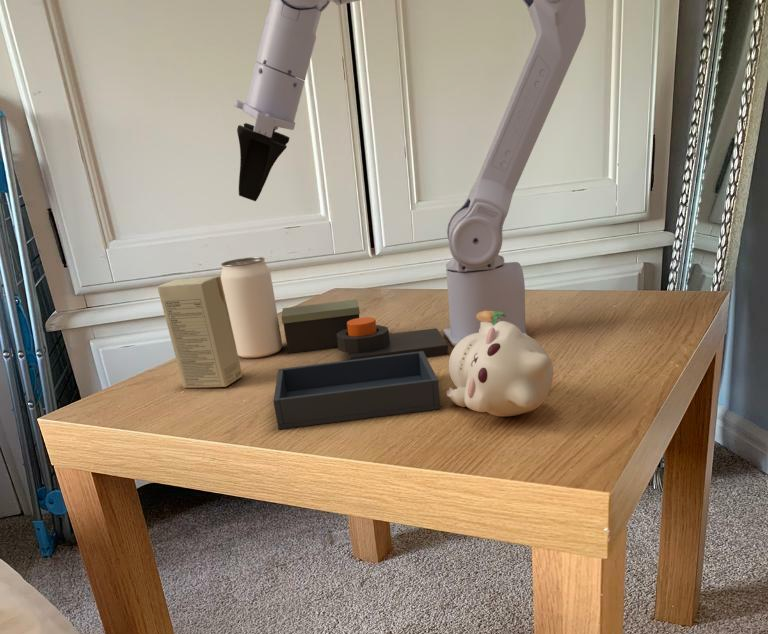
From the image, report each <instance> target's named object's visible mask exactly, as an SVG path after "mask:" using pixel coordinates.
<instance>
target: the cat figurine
mask: <svg viewBox="0 0 768 634" xmlns="http://www.w3.org/2000/svg"><path fill="white" fill-rule="evenodd" d="M499 315H501V316H504V317H506V315H505V314H504V313H503V312H496V311H495V312H494V311H481V312H479V313H478V314H477V315H476V318H477V319H478V320H479V321H481V323H480V329H479V333H474V334H471V335H468V336H466V337H465V338H463V339H462V340H461V341H459V342H458V344H457V345H456V346H453V349H452V351H451V353H450V356H449V360H448V373H449V376H450V379H451V381H452V383H453V384H454V385H455V387H456V388H452V387H449V388H448V389H447V390H446V392H445V393H446V396H447V397H448V398H449V399H450V401H451V402H453V404H454V405H456V406H458V407H462V408H466V407H467V408H468V409H469V410H472V411H474V412H477V413H488V414H489V415H491V416H496V417H512V416H513V417H514V416H519V415H523V414H526V413H529V412H532V411H534V410H536V409H538V408H539V407H540V406H541V405H542V404H544V402H545V401H546V400H547V398H548V395H549V394H550V391H551V388H552V384H553V378H554V365H553V361H552V359H551V357H550V354H549V353H548V352H547V350H546V349H545V348H544V347H543V346H542V345H541V343H540V342H538V341H537V340H536V339H534V338H533V337H531V336H530V335H528V334H527V335H526V334H523V333H522V332H521V331H520V330H519V328H518V327H517V326H515V325H513V324H511V323H509V322H506V321H500V320H498V318H499Z"/></svg>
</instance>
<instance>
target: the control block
mask: <svg viewBox="0 0 768 634" xmlns="http://www.w3.org/2000/svg"><path fill="white" fill-rule="evenodd" d="M376 329H377V332H376V333H374V334H370V335H364V336H349V335H348V329H344V330H342V331H340V332H338V333H337V342H338V347H337V349H338V351H339V352H341V353H345V354H346V353H347V354H348V356H349V360H355V359H363V358H371V357H379V356H387V355H395V354H403V353H411V352H419V351H423V352H424V354H425V356H426V357H427V358H430V357H438V356H446V355H449V345H448V343H447V342H446V340H445V338H444V337H443V336H442V334H441V332H440V331H439V329H438V328H437V327H435V328H428V329H426V328H425V329H418V330H410V331H403V332H402V331H401V332H395V333H394V332H393V333H390V331H389V328H388V326H384V325H379V324H376Z"/></svg>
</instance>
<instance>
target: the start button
mask: <svg viewBox="0 0 768 634" xmlns="http://www.w3.org/2000/svg"><path fill="white" fill-rule="evenodd" d="M376 325H377V321H376V318H374V317H370V316H369V317H364V316H363V317H359V318H356V319H352V320H350V321H348V322H347V328H348V335H349V336H364V335H370V334H374V333H376V332H377V329H376Z"/></svg>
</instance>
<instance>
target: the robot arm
mask: <svg viewBox="0 0 768 634" xmlns="http://www.w3.org/2000/svg"><path fill="white" fill-rule="evenodd" d="M359 1H361V0H270V3H269V10H268V13H267V15H266V17H265V22H264V26H263V30H262V35H261V38H260V41H259V47H258V50H257V55H256V60H255V63H254V68H253V73H252V77H251V81H250V85H249V89H248V92H247V97H246V101H245V102H244V101H241V100H238V99H235V102H234V107H235V108H237V109H240V110H242V111H243V112H244V113H246V114H247V115H249V116H250V117H251V118H253V119H254V120H255V121H254V125H253V124H250V123H247V122H245V123H243V125H241V124H239V125H237V127H236V128H237V129H236V134H237V137H238V143H239V154H240V157H239V158H240V161H239V162H240V163H239V164H240V165H239V175H238V196H239V197H242V198H244V199H247V200H250V201H253V202H257V201H258V199H259V197H260V195H261V194H262V191H263V188H264V186H265V185H266V182H267V179H268V177H269V175H270V172H271V170H272V168H273V166H274V164H275V163H276V162H277V160H278V159H279V157H280V156H281V155H282V154H283V152H284V151H285V150H286V149H287V147H288V145H287V144H288V143H289V141H290V137H289V136H287V135H285V134H283V133H280V132H278V131H277V130H279V129H285V130H290V131H293V130H295V127H296V122H295V119H296V116H297V112H298V108H299V104H300V102H301V97H302V93H303V90H304V86H305V82H306V78H307V74H308V70H309V67H310V63H311V59H312V56H313V51H314V47H315V44H316V40H317V35H316V34H317V30H318V27H319V24H320V23H319V22H320V19H321V15H322V13H323V12H324V11H325V10H326V9H327V7H328V6H329V5H330V3H331V2H332V3H334V4H335V5H337V6H340V5H345V4H350V3H354V2H359ZM522 1H523V3H524V4H525V5H526V7H527V11H528V14H529V17H530V19H531V22H532V24H533V27H534V30H535V35H536V36H535V39H534V41H533V44H532V46H531V48H530V51H529V53H528V55H527V58H526V60H525V62H524V65H523V67H522V70H521V72H520V75H519V77H518V80H517V82H516V84H515V87H514V89H513V91H512V94H511V96H510V98H509V101H508V103H507V106H506V108H505V111H504V113H503V116H502V118H501V119H500V123H499V125H498V127H497V130H496V132H495V135H494V137H493V140H492V142H491V144H490V146H489V149H488V151H487V154H486V156H485V159H484V161H483V163H482V166H481V168H480V170H479V173H478V175H477V177H476V179H475V181H474V183H473V185H472V187H471V188H470V191H469V193H468V196H467V198H466V200H465V202H464V203H463V204H462V206H461V207H460V208H459V209H457V210H456V211H454V213H453V214H452V216H451V218H450V219H449V222H448V224H447V229H446V235H447V240H448V247H449V251H450V254H451V256H452V258H451V259H450V260H449V261H448V262H447V263H446V264H445V271H446V284H447V302H448V317H449V318H448V319H449V328H444V329H443V333H444V335H445V337H446V338H447V340H448V341H449V343H450V344H451V346H452V347H455V346H456V345H457V344H458V342H459V341H461V340H462V339H463V338H465V337H466V336H468V335H471V334H474V333H479V329H480V323H481V321H479V320H478V319H477V318H476V315H477V314H478V313H479V312H481V311H494V312H495V311H496V312H503V313H504V314H505V315H506V317H504V316H501V315H499V318H498V320H500V321H506V322H509V323H511V324H513V325H515V326H517V327H518V328H519V330H520V331H521V332H522V333H523V334H526V335H528V333H527V332H526V329H527V328H526V287H525V286H526V285H525V284H526V283H525V276H524V272H523V267H522V265H521V263H520V262H518V261H509V262H505V258H504V256H502V255H499V254H500V252H501V249H502V246H503V229H504V228H503V227H504V223H505V221H506V218H507V216H508V214H509V211H510V207H511V203H512V199H513V196H514V192H515V191H516V188H517V186H518V183H519V181H520V179H521V177H522V175H523V172H524V170H525V168H526V166H527V163H528V161H529V159H530V157H531V154H532V152H533V149H534V147H535V145H536V143H537V141H538V138H539V137H540V134H541V132H542V129H543V127H544V125H545V123H546V121H547V118H548V116H549V114H550V111H551V109H552V107H553V104H554V102H555V100H556V98H557V96H558V94H559V90H560V88H561V86H562V85H563V82H564V80H565V77H566V75H567V72H568V70H569V68H570V66H571V64H572V61H573V59H574V57H575V55H576V52H577V51H578V48H579V45H580V43H581V41H582V40H583V37H584V33H585V31H586V26H587V21H586V20H587V19H586V17H587V16H586V0H522Z"/></svg>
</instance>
